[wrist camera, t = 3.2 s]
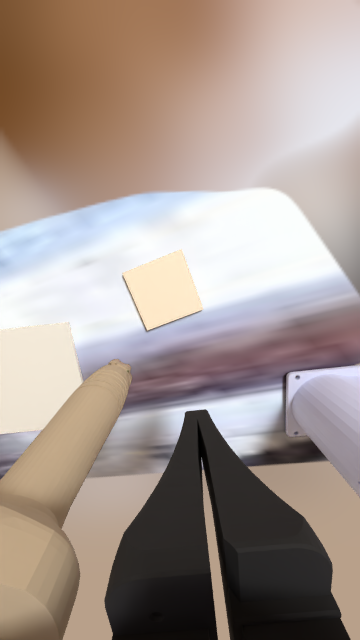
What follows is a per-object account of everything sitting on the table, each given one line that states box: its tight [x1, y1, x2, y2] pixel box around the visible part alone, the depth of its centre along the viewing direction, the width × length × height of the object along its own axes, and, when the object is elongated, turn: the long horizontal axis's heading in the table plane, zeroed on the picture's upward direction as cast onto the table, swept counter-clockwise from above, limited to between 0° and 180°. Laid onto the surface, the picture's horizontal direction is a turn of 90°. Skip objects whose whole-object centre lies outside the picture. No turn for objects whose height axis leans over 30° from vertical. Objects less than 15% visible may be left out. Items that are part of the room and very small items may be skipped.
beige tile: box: [122, 249, 203, 330], centre depth 18 cm, size 6×6×1 cm
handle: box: [0, 359, 132, 640], centre depth 12 cm, size 5×6×15 cm
